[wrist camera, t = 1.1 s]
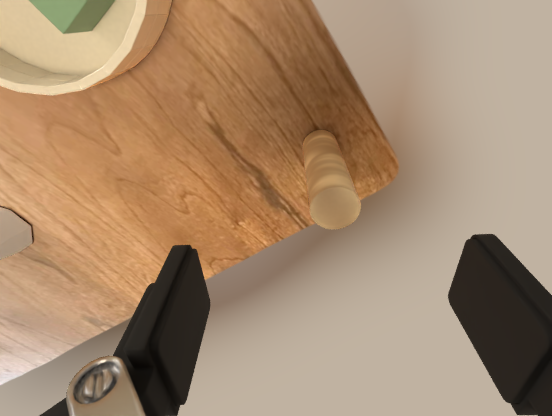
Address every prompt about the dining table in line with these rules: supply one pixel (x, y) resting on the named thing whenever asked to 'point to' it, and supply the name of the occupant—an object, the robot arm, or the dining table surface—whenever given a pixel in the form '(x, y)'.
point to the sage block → (73, 13)
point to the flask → (13, 233)
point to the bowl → (75, 46)
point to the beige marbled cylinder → (329, 182)
